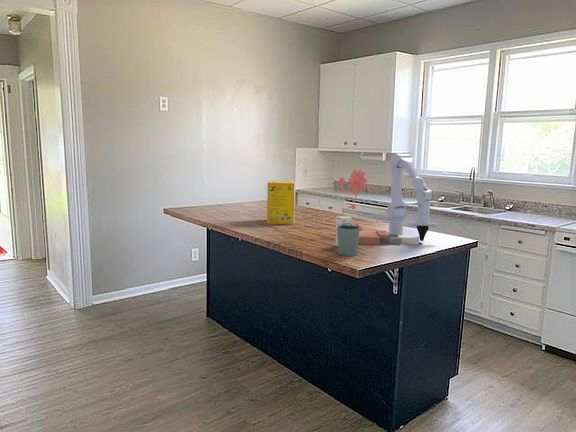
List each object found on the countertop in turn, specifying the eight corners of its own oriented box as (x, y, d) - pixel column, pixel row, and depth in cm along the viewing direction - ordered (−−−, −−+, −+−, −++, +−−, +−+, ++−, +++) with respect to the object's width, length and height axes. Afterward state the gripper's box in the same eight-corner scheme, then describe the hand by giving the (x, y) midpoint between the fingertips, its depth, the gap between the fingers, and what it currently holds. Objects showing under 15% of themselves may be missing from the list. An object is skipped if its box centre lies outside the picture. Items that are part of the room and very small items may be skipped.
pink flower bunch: (363, 237, 231) (368, 170, 227) (329, 230, 251) (332, 168, 247) (383, 235, 241) (387, 170, 236) (348, 228, 261) (351, 168, 256)
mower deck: (356, 237, 232) (356, 229, 232) (396, 238, 231) (397, 230, 230) (358, 243, 217) (359, 235, 216) (402, 245, 215) (402, 236, 215)
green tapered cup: (346, 257, 189) (347, 229, 188) (331, 252, 197) (332, 226, 196) (363, 254, 195) (364, 227, 193) (347, 249, 203) (348, 224, 201)
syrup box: (340, 248, 207) (341, 217, 204) (335, 245, 212) (336, 215, 210) (351, 247, 208) (352, 217, 206) (346, 244, 214) (347, 215, 212)
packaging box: (269, 219, 285) (269, 180, 281) (294, 220, 284) (295, 181, 280) (266, 223, 269) (267, 182, 265) (293, 224, 268) (294, 183, 264)
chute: (398, 241, 226) (398, 235, 225) (418, 242, 223) (419, 236, 222) (397, 242, 221) (398, 237, 221) (418, 244, 218) (419, 238, 218)
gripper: (410, 214, 217) (408, 241, 219) (440, 215, 216) (438, 242, 218) (407, 212, 224) (405, 238, 226) (436, 213, 223) (434, 239, 225)
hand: (421, 240), depth 222 cm, fingers closed
